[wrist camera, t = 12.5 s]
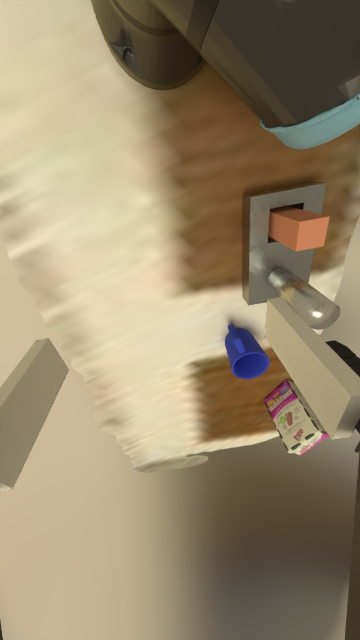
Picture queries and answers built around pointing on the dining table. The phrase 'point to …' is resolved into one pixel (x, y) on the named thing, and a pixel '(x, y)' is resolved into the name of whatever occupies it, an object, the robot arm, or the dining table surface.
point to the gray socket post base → (283, 256)
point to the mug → (245, 354)
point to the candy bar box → (294, 418)
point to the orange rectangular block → (297, 228)
